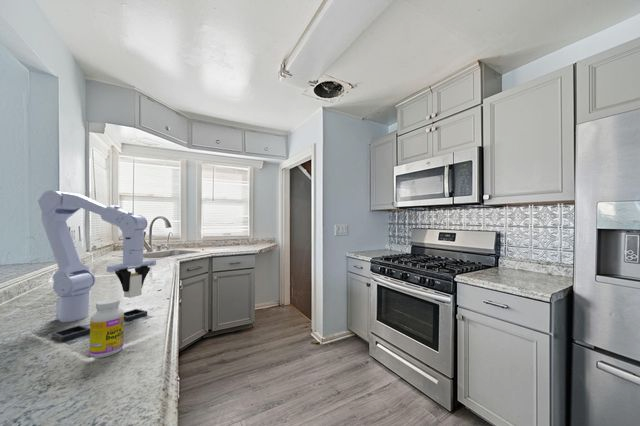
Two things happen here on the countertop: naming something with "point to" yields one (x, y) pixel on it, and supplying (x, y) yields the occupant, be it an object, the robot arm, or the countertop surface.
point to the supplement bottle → (106, 329)
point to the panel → (83, 330)
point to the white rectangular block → (134, 286)
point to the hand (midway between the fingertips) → (132, 289)
